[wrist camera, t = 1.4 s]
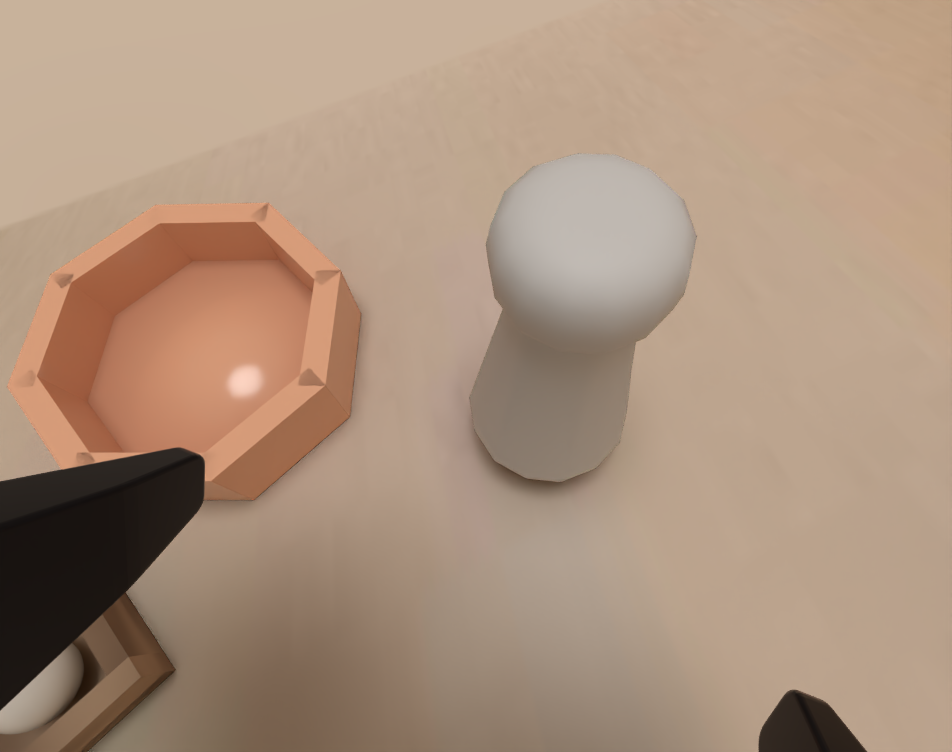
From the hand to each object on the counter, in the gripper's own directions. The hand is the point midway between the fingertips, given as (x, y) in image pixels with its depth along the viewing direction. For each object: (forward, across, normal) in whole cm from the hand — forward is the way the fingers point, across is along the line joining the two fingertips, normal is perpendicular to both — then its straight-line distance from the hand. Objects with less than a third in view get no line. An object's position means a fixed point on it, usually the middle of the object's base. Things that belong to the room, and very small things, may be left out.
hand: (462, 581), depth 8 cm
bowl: (+13, +14, +6) cm, 20 cm away
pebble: (+2, +13, +13) cm, 18 cm away
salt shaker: (+14, 0, +4) cm, 15 cm away
